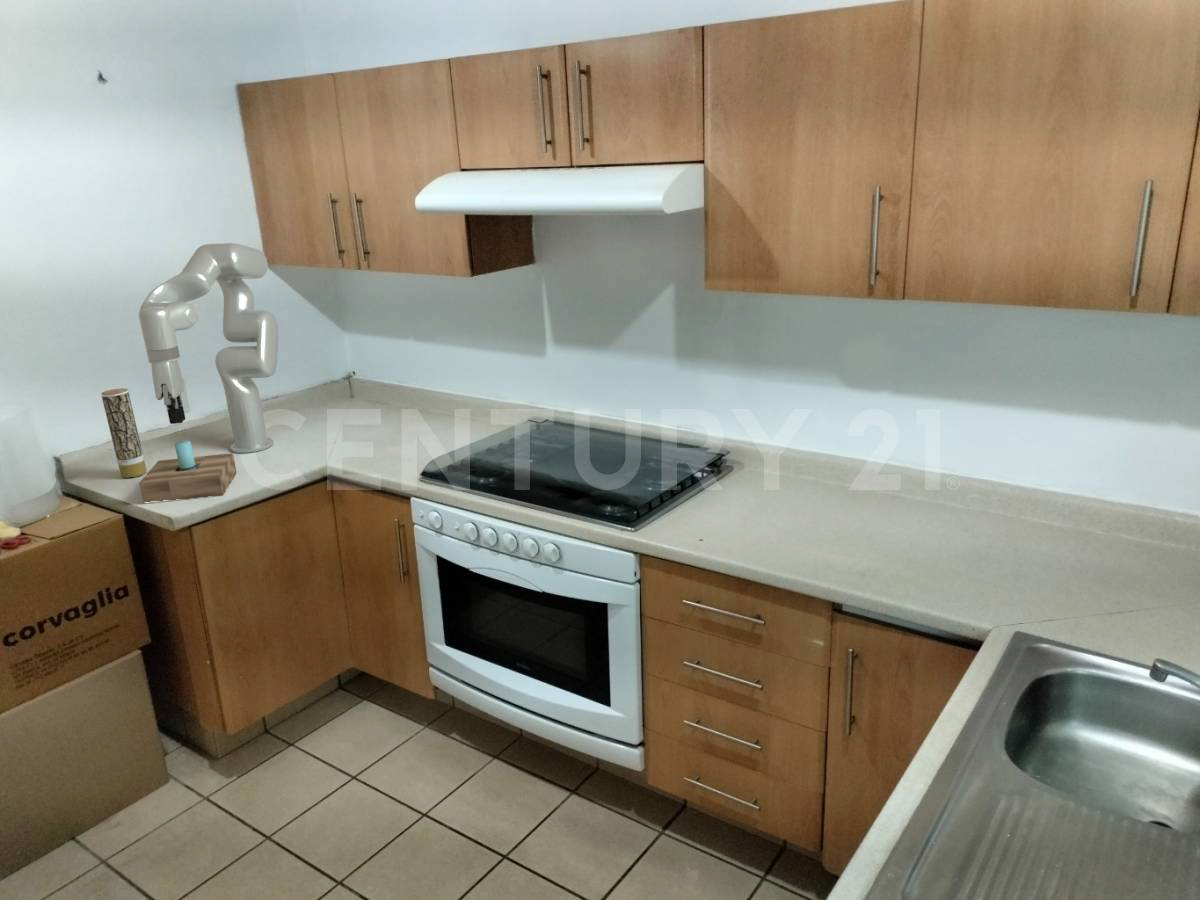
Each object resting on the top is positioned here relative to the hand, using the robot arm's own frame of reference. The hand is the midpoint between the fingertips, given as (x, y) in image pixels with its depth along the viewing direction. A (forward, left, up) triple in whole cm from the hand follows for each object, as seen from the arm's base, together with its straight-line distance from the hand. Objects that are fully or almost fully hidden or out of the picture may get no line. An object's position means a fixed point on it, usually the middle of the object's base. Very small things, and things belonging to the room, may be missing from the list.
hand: (177, 421), depth 242 cm
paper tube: (-17, -20, -19) cm, 33 cm away
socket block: (0, 0, -19) cm, 19 cm away
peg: (0, 0, -18) cm, 18 cm away
